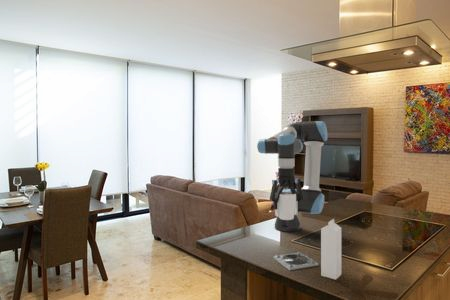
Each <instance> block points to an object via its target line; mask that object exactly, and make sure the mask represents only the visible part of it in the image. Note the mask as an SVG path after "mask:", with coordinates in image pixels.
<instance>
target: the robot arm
mask: <svg viewBox="0 0 450 300" xmlns="http://www.w3.org/2000/svg"><path fill="white" fill-rule="evenodd" d="M327 141H328V128H327V125H326V123H325V121H319V120H313V121H297V122H293V123H290V124H288V125H286V126H285V127H283V128H282V130H281V131H279V132H277V133H275V134H274V135H272V136H270V137H269V138H260V139H259V140H258V141H257V145H256V149H257V151H258V153H259V154H265V155H267V154H270V155H271V154H272V155H273V154H274V155H275V154H277V157H278V158H277V159H278V160H277V163H278V167H279V168H278V171H277V172H278V178H277V179H272V180H271V184H272V186H271V191H270V196H269V201H270V202H272V203H273V209H274V216H275V217H276V219H275V222H274V228H275V230H276V231H279V232H281V231H282V232H289V233H290V232H297V231H300V230H301V222H300V219H299V216H298V213H304V214H311V215H313V214H314V215H319V214H321V213H322V211H323V208H324V204H325V194H323V193H322V189H321V188H320V175H321V174H320V173H321V159H322V158H321V157H322V154H321V153H322V147H323V146H324V144H325V142H327ZM304 145H305V160H304V174H303V175H304V176H303V187H301V179H300V178H295V171H296V170H295V166H296V165H295V162H296V161H295V159H296V158H295V157H296V156H295V155H297V154H299V153H301V152H302V151H303V148H304ZM294 184H295V185H294ZM286 188H287V189H286ZM282 192H292V194H296V205H295V212H294V219H292V220H282V219H280V218H279V202H278V200H279V198H280V194H281V193H282Z"/></svg>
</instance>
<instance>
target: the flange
mask: <svg viewBox="0 0 450 300" xmlns="http://www.w3.org/2000/svg"><path fill="white" fill-rule="evenodd" d="M273 259H274V260H276V262H277V263H279V264H280V265H281V266H283V267H285V268H286V269H287V270H288V271H295V270H299V269H305V268H310V267H316V266H319V262H317V261H315V260H314V259H312V258H311V257H309V256H307V255H306V254H304V253H302V252H301V251H297V252H291V253H285V254H277V255H273Z"/></svg>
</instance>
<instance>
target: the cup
mask: <svg viewBox="0 0 450 300" xmlns="http://www.w3.org/2000/svg"><path fill="white" fill-rule="evenodd" d="M278 202H279V218H280V219H282V220H292V219H294V212H295V205H296V194H292V192H282V193H281V194H280V198H279V200H278Z"/></svg>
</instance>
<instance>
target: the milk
mask: <svg viewBox="0 0 450 300" xmlns="http://www.w3.org/2000/svg"><path fill="white" fill-rule="evenodd" d="M327 223H328V224H327V225H326V226H324V227H321V228H320V271H321V272H320V276H321V277H324V278H329V279H332V280H334V281H335V280H337V279H339V277H341V276H342V227H341V226H340V225H339V224H337V223H336V222H335V218H332V219H331V220H330V221H329V220H328V222H327Z"/></svg>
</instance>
